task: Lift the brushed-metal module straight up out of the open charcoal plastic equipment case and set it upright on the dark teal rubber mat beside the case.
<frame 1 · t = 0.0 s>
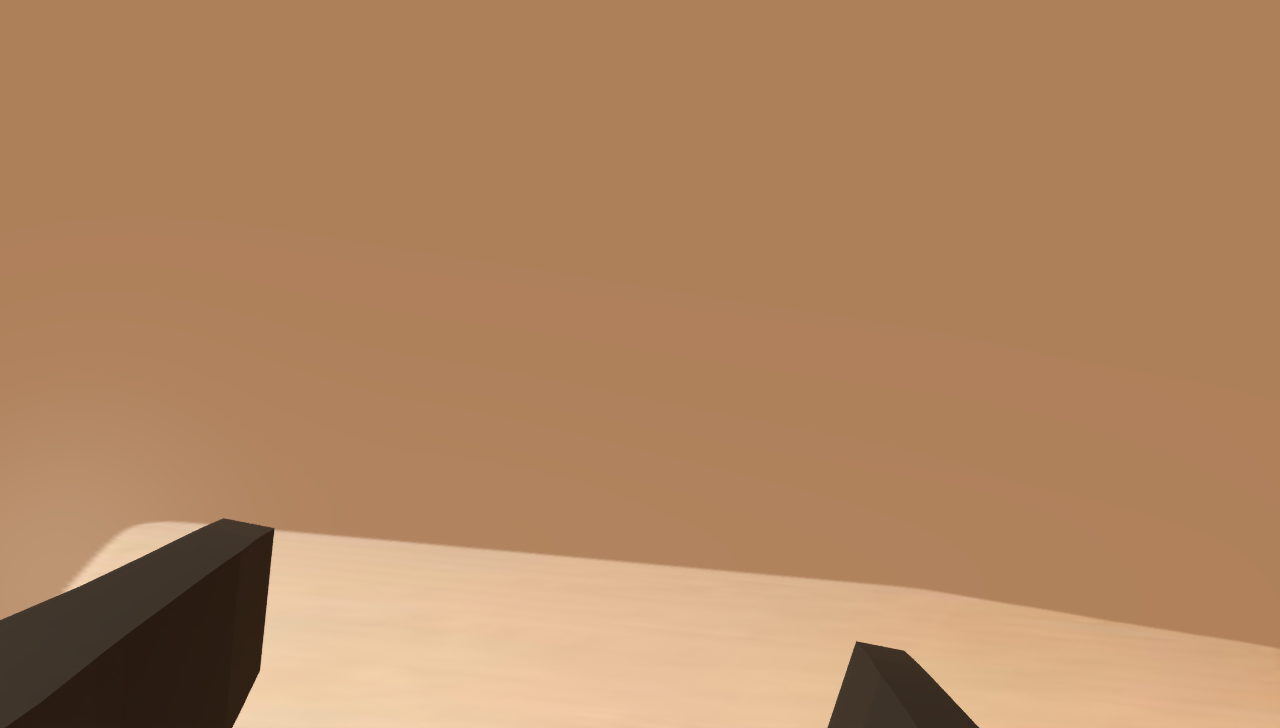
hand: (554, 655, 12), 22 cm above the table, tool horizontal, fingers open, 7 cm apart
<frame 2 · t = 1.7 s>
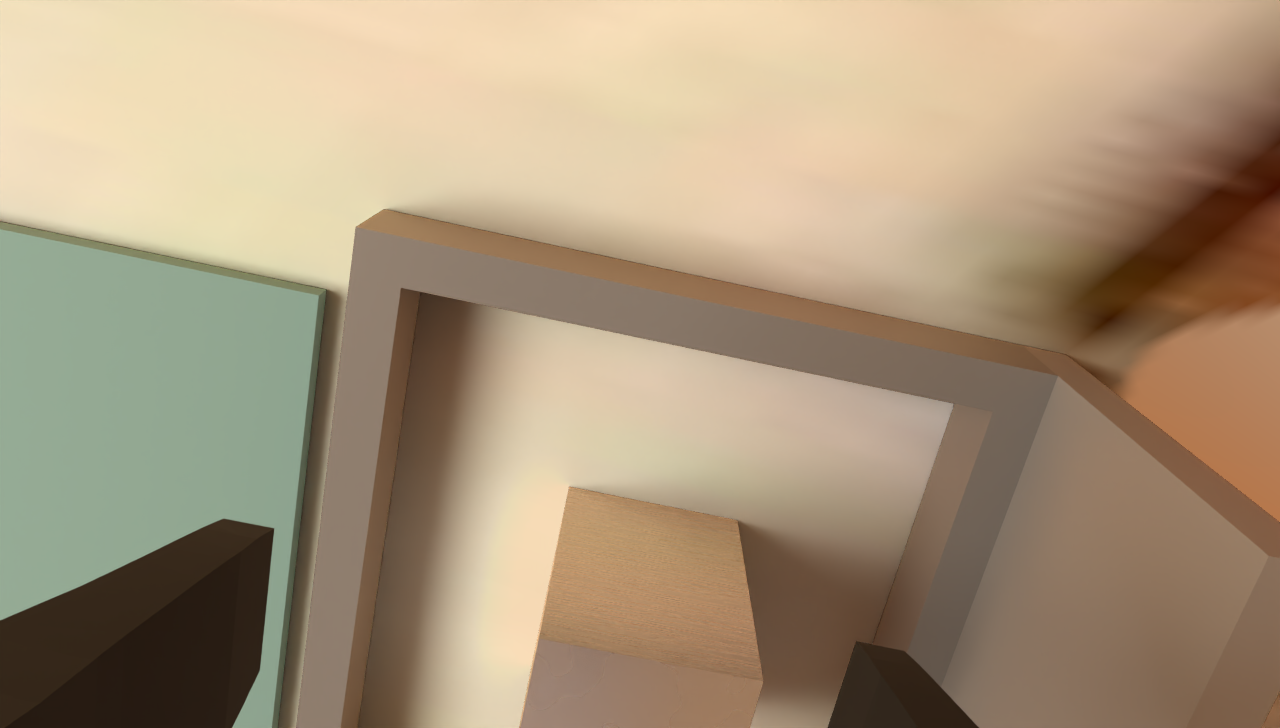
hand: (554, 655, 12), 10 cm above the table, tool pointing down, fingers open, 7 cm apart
module: (631, 594, 23), resting in equipment case
module mat: (129, 497, 23), on the table
equipment case: (631, 595, 23), on the table
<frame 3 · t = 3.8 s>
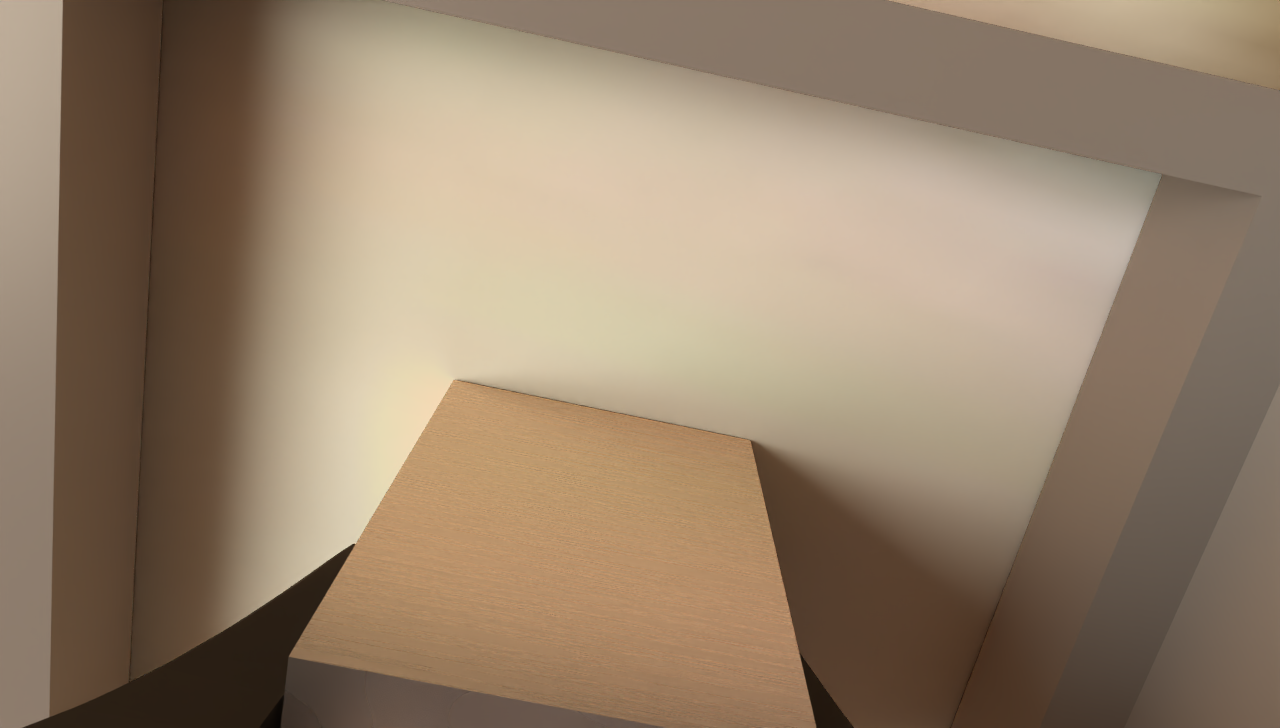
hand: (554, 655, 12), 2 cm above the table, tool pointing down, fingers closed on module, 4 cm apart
module: (568, 572, 14), resting in equipment case, touching gripper
equipment case: (568, 573, 14), on the table
when the fingers open (3 cm above the table, at t = 9.5 s): module stays where it is, resting on module mat.
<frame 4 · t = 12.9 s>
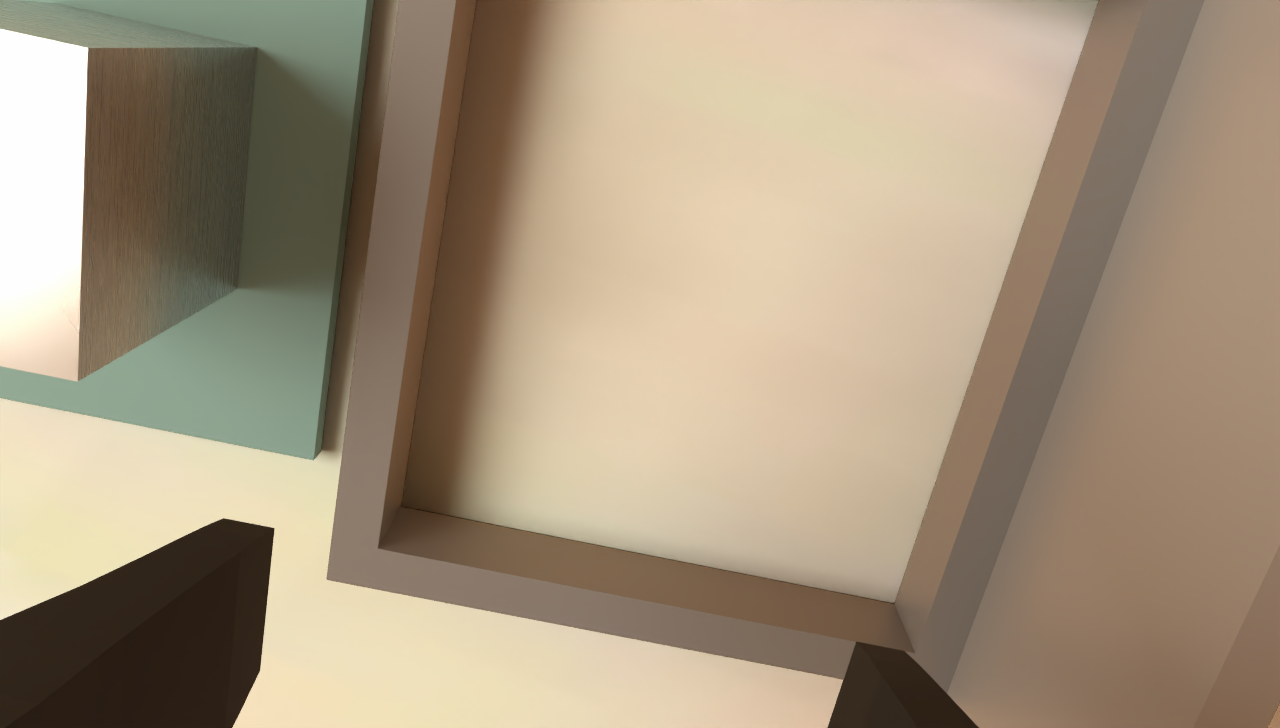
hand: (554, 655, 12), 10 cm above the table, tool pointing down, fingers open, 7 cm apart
module: (149, 152, 20), resting on module mat
module mat: (161, 155, 20), on the table
equipment case: (719, 274, 21), on the table
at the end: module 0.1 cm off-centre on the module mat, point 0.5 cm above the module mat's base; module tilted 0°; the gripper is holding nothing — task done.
